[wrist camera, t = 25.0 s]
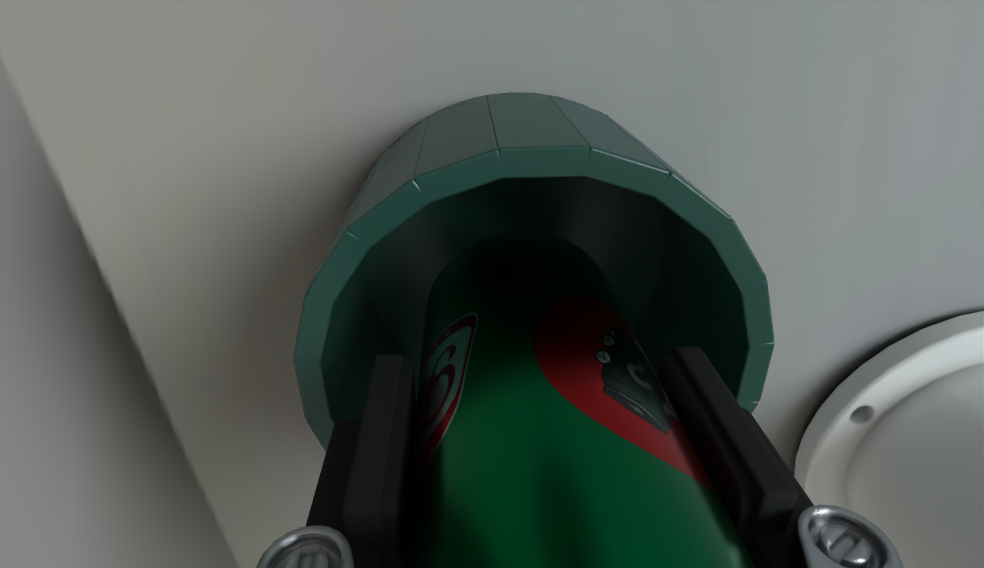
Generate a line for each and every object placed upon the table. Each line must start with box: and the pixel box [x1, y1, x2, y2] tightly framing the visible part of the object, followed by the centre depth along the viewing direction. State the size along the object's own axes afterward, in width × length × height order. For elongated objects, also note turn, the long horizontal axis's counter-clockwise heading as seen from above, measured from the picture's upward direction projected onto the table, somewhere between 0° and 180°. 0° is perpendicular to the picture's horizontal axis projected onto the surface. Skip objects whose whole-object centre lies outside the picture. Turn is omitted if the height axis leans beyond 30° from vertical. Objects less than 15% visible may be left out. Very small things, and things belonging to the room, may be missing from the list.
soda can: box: [401, 231, 756, 568], centre depth 11 cm, size 5×5×12 cm
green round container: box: [294, 93, 774, 452], centre depth 16 cm, size 11×11×6 cm
